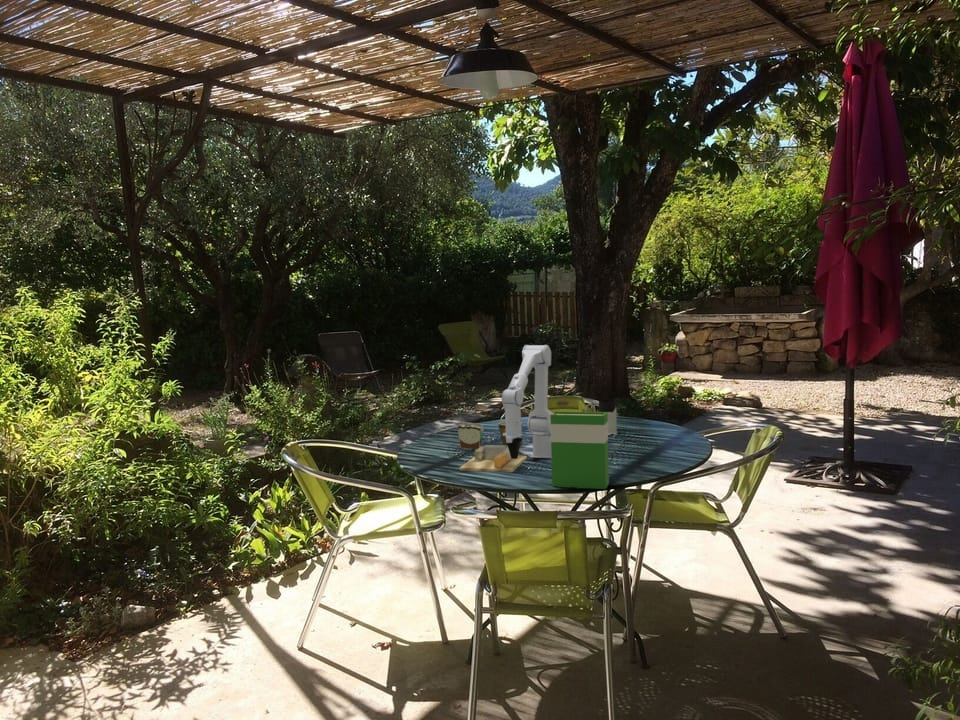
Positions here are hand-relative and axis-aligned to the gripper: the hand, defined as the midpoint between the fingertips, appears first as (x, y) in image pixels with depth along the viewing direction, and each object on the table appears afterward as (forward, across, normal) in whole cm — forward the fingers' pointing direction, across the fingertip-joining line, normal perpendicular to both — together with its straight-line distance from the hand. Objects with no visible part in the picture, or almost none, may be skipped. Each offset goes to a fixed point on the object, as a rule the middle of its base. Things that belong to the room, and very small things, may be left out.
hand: (514, 458), depth 277 cm
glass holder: (+4, -70, +22) cm, 74 cm away
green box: (+4, +19, +28) cm, 34 cm away
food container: (+4, -34, -26) cm, 44 cm away
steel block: (+3, -10, -10) cm, 15 cm away
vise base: (+4, -6, -9) cm, 12 cm away
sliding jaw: (+3, -5, -5) cm, 8 cm away
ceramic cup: (+4, -40, -12) cm, 42 cm away
